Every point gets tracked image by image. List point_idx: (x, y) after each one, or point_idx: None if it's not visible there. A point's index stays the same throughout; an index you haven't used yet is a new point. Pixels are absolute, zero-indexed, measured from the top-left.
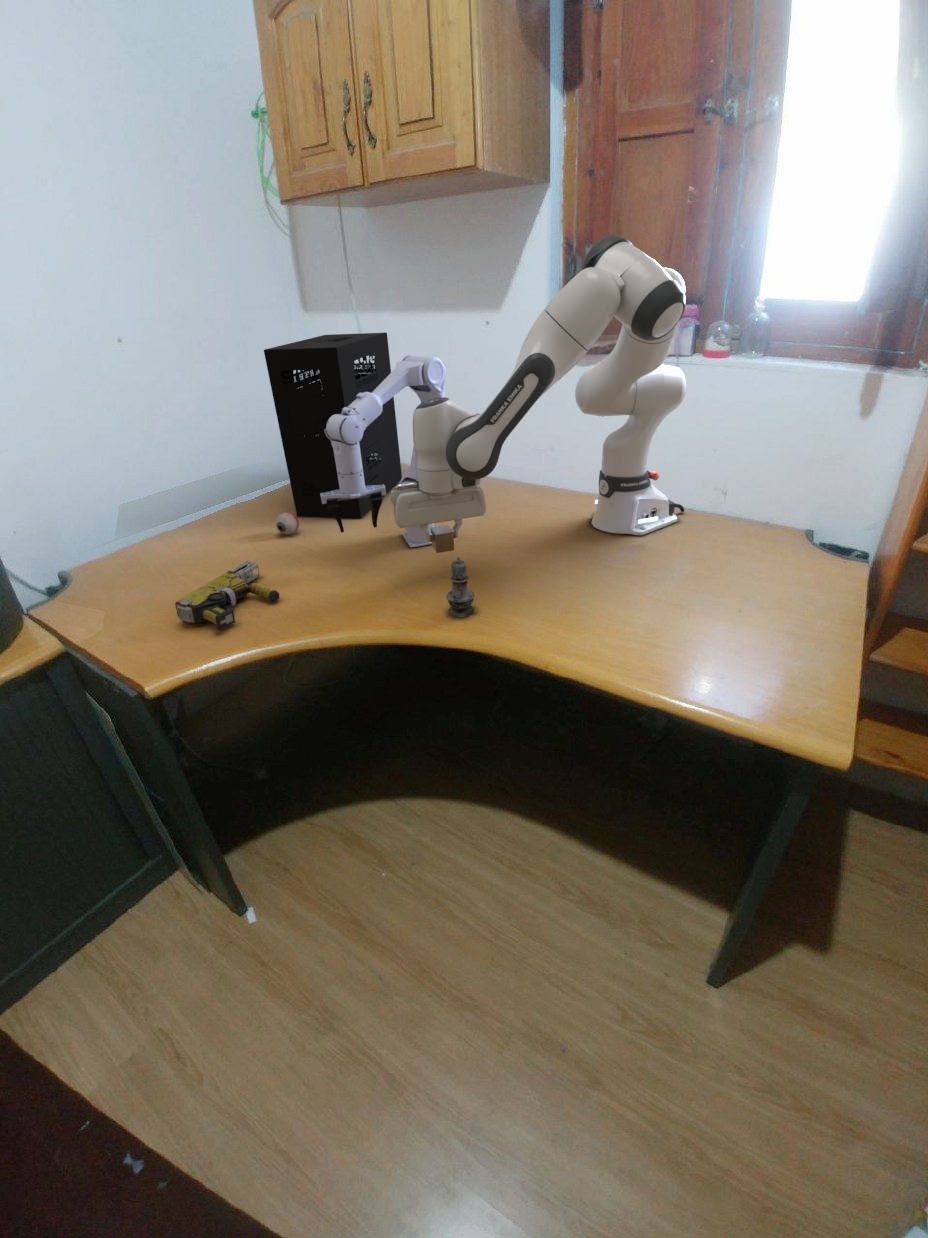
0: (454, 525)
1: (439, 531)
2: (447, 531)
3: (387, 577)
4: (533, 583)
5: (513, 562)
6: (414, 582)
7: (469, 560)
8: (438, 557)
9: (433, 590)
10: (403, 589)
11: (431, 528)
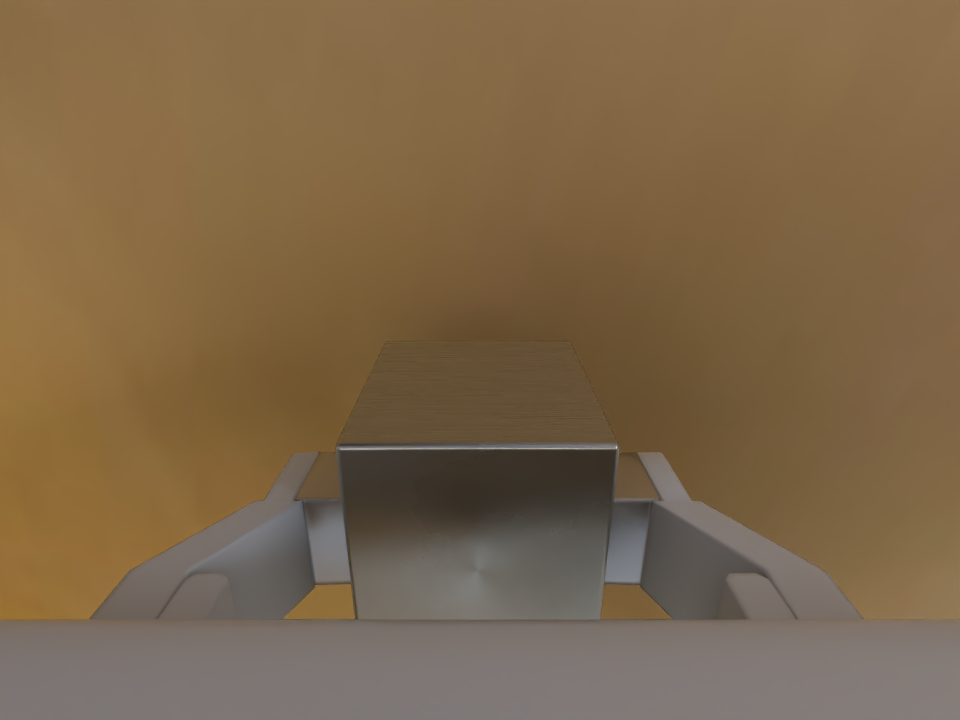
0: (690, 536)
1: (435, 609)
2: None
3: (81, 262)
4: (870, 609)
5: (951, 351)
6: (267, 396)
7: (707, 203)
8: (501, 36)
9: None
10: (197, 456)
11: (344, 490)
